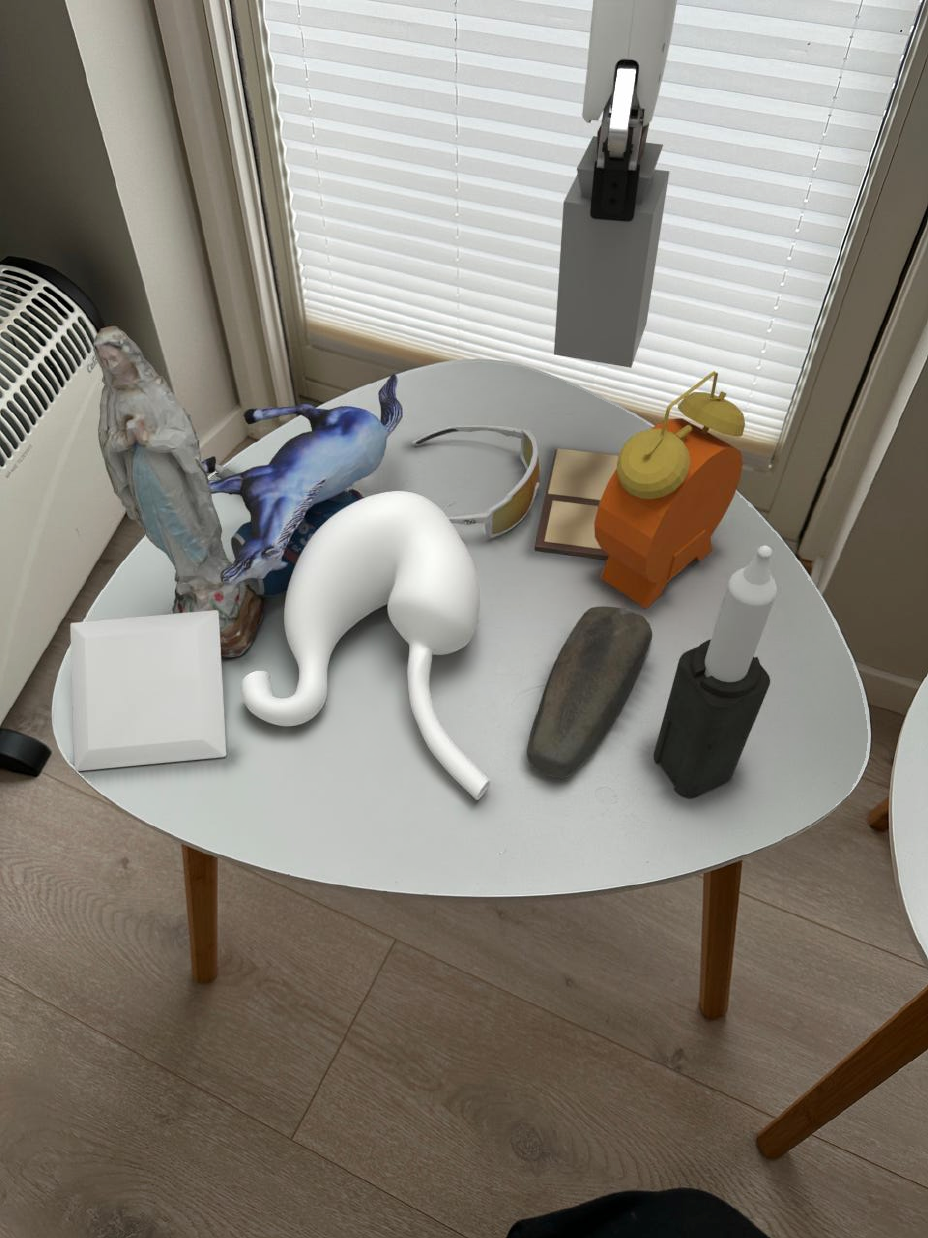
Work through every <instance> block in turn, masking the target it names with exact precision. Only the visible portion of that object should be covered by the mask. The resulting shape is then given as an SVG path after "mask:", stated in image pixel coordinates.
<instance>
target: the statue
mask: <svg viewBox="0 0 928 1238" xmlns="http://www.w3.org/2000/svg"><path fill="white" fill-rule="evenodd" d="M92 347H93V350H92V351H93V354H94V356H95V358H96V360H97V363H98V365H99V367H100V370H101V372H102V379H101V382H102V383H103V387H102V389H101V397H100V402H99V419H98V420H99V421H98V426H97V436H98V438H97V439H98V443H99V448H100V451H101V455H102V458H103V459H104V460H103V461H104V465H105V469H106V472H107V475H108V477H109V480H110V483H111V486H112V489H113V492H114V494H115V496H116V497H117V498H118V499H119V500H120V502H121V505H122V506H123V507H124V508H125V511H126V515H127V517H128V518H129V519H130V520H131V521H133V520H134V521H136V523H137V524H138V525H139V527H140V528H141V529H142V530H143V532H144V534H145V537H146V539H148V541H149V542H150V543H151V544H153V546H155V548H157V549H159V550H160V551H161V552H163V553H164V554H166V556H167V557H168V559H169V560H170V562H171V563H172V565H173V567H174V570H175V573H174V581H175V582H176V584H175V589H174V600H173V606H172V610H171V611H172V614H178V613H189V612H201V611H212V610H217V611H218V612H219V629H220V647H221V657H225V658H236V657H240V656H242V655H243V654H245V652H246V651H247V650H248V649H249V647H250V646H251V645H252V643H253V641H254V639H255V636H256V633H257V631H258V630H259V627H260V624H261V621H262V619H263V618H264V617H263V616H264V613H265V612H264V611H265V606H266V604H265V603H266V602H265V599H263V598H262V597H261V595H257V594H256V592H255V591H254V590H253V589H251V587H250V586H249V584H248V585H247V583H246V582H245V580H242V581H240V582H239V583H238V584H235V585H225V584H223V583H222V581H221V579H220V576H221V572H222V571H223V570H225V569H226V568H228V567H229V566H231V565H232V564H233V563H234V562H232V561H230V559H228V556H227V554H226V551H225V549H224V543H223V541H222V534H223V527H222V524H221V520H220V517H219V515H218V511H217V509H216V507H215V504H214V502H213V501H214V500H213V496H212V494H211V489H210V485H209V480H210V479H209V478H208V474H206V471H205V469H204V467H203V465H202V463H201V462H202V455H201V448H200V440H199V438H198V437H197V431H196V429H195V427H194V424H193V421H192V420H191V414H190V413H188V412H187V410H186V409H185V408H184V406H183V405H182V404H181V402H180V401H179V400H178V398H177V396H176V395H175V394H174V393H173V392H172V390H171V388H170V385H169V384H168V382H167V381H166V380H165V379H164V376H161V375H159V373H157V372H156V370H155V368H154V367H153V366H152V364H151V363H150V362H149V361H148V360H147V358H146V357H145V354H143V352H142V350H141V349H140V347H139V346H138V345H137V343H135V341H133V339H131V338H130V337H129V336H128V335H127V333H126V332H125V331H123V330H122V329H120V328H119V327H118V326H117V325H110V326H106V327H103V328H100V329H99V332H98V333H97V334H96V335H95V337H94V341H93V346H92Z"/></svg>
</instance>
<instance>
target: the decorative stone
mask: <svg viewBox="0 0 928 1238" xmlns="http://www.w3.org/2000/svg"><path fill="white" fill-rule="evenodd" d="M652 640H653V631H652V628H651V624H650V622H648V620H647V618H645V616H643V615H641V614H640V613H636V612H635V611H633V610H630V609H626V608H622V607H616V606H607V605H605V606H604V605H602V606H601V605H600V606H594V607H593V606H592V607H590V608H588V609H587V610H586V611H585V612H583V614H582V616H581V617H579V619H578V621H577V622H576V623H575V625H574V627H573V628H572V630H571V632H570V633H569V635H568V637H567V638H566V639H565V642H564V644H563V645H562V647H561V648H560V651H559V652H558V654H557V657H556V659H555V660H554V663H553V665H552V668H551V670H550V673H549V675H548V678H547V681H546V684H545V687H544V690H543V693H542V696H541V699H540V702H539V706H538V709H537V712H536V714H535V717H534V720H533V722H532V726H531V730H530V732H529V738H528V742H527V746H526V752H525V753H526V757H527V760H528V763H529V764H530V765H531V766H532V768H533V769H535V770H536V771H537V772H538V773H540V774H544V775H546V776H550V777H554V778H567V777H569V776H571V775H573V774H574V773H575V772H576V771H577V770H578V769H579V768H580V767H581V766H582V765H583V764H585V762H586V761H587V760H588V759H589V758H590V757H591V755H593V753H594V752H595V751H596V750H597V748H598V747H599V746H600V744H601V743H602V742H603V740H604V739H605V737H606V736H607V734H608V733H609V731H610V730H611V728H612V726H613V725H614V723H615V721H616V719H617V718H618V716H619V714H620V712H621V711H622V709H623V707H624V705H625V703H626V701H627V699H628V697H629V695H630V693H631V691H632V689H633V688H634V685H635V683H636V681H637V678H638V676H639V674H640V671H641V669H642V667H643V664H644V663H645V660H646V657H647V654H648V651H649V648H650V646H651V644H652Z"/></svg>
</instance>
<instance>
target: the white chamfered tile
mask: <svg viewBox="0 0 928 1238" xmlns="http://www.w3.org/2000/svg"><path fill="white" fill-rule="evenodd" d="M69 627H70V656H71V657H70V658H71V661H70V662H71V664H70V665H71V697H72V733H73V765H74V767H73V769H74V771H75V772H80V771H81V772H82V771H91V770H103V769H115V768H123V767H125V768H126V767H132V766H133V767H134V766H135V767H136V766H143V765H144V766H145V765H154V764H164V763H175V762H187V761H197V760H207V759H218V758H225V757H226V756H227V743H226V741H227V740H226V739H227V738H226V725H225V724H226V723H225V721H226V720H225V706H224V705H225V703H224V685H223V670H222V669H223V668H222V666H223V665H222V656H221V647H220V629H219V612H218V611H217V610H212V611H201V612H189V613H178V614H173V613H167V614H157V615H156V614H155V615H147V616H135V617H124V618H123V617H122V618H111V619H100V620H89V621H78V622H71V623H70V625H69Z"/></svg>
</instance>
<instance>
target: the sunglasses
mask: <svg viewBox="0 0 928 1238" xmlns="http://www.w3.org/2000/svg"><path fill="white" fill-rule="evenodd" d="M481 431H482V432H484V431H485V432H494V433H498V434H501V435H503V436H505V437H512V438H516V439H520V451H519V459H520V461H521V462H522V464H523V466H524V468H525V470H526V471H525V472H524V475H523V476H522V478H521V479H520V480H519V482H518V483H517V484H516V485H515V486H514V487H513V488H512V489H511V490H510V491H509V492H508V493H507V494H506V496H505V497H504V499H502V500H500V501H499V502H498V503H497V504H495V505H493V506H491V507H490V508H488V509H487V510H486V512H480V513H473V514H467V515H466V514H465V515H459V516H447V518H448V519H449V520H450V522H451V523H452V524H460V525H463V526H472V525H476V524H484V525H485V534H486V536H487V537H489V538H494V537H498V536H501V535H503V534H505V533H507V532H509V531H511V530H512V529H513V528H515V527H516V526H518V525H519V524H520V523H521V522H522V521H523V519H524V518H526V516H527V514H528V513H529V511H530V509H531V507H532V505H533V503H534V500H535V498H536V495H537V492H538V490H539V488H540V483H539V482H540V481H539V478H540V460H539V459H540V458H539V445H538V441H537V439H536V438H535V436H534V435H533V434H532V432H531V431H530V430H528V429H522V428H516V427H512V426H504V425H488V424H486V425H485V424H482V425H481V424H473V425H472V424H471V425H470V424H468V425H452V426H447V427H444V428H440V429H437V430H435V431H432V432H430V433H427V434H425V435H423V436H421V437H419V438H417V439H415V440H413V441H412V442H411V444H412V445H414V446H419V445H422V444H423V443H426V442H428V441H430V440H432V439H435V438H438V437H441V436H444V435H447V434H452V433H460V432H461V433H462V432H464V433H466V432H467V433H471V432H481Z"/></svg>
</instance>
